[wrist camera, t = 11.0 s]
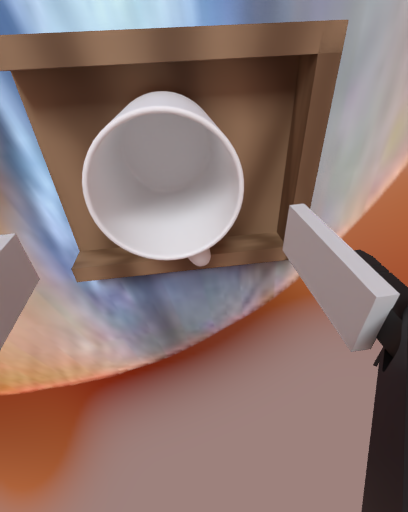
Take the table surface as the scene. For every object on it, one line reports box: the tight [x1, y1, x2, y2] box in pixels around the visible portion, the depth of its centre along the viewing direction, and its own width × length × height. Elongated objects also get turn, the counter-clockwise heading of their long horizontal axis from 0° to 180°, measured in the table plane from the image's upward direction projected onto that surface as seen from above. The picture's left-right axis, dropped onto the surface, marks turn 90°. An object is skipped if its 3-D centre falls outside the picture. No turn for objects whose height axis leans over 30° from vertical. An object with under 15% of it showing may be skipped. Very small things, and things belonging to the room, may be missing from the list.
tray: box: [0, 20, 348, 282], centre depth 22 cm, size 22×18×4 cm
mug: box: [82, 91, 244, 266], centre depth 19 cm, size 12×8×10 cm
